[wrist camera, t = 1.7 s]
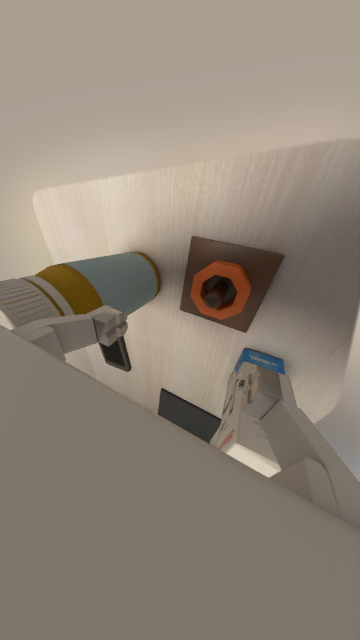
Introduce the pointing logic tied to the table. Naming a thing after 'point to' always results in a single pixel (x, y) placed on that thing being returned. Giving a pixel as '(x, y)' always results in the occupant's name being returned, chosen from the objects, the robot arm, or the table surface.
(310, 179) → the table surface
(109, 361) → the cell phone
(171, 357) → the table surface
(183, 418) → the mat
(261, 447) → the ink box
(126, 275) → the bottle
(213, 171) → the table surface
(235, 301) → the ring
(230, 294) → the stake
